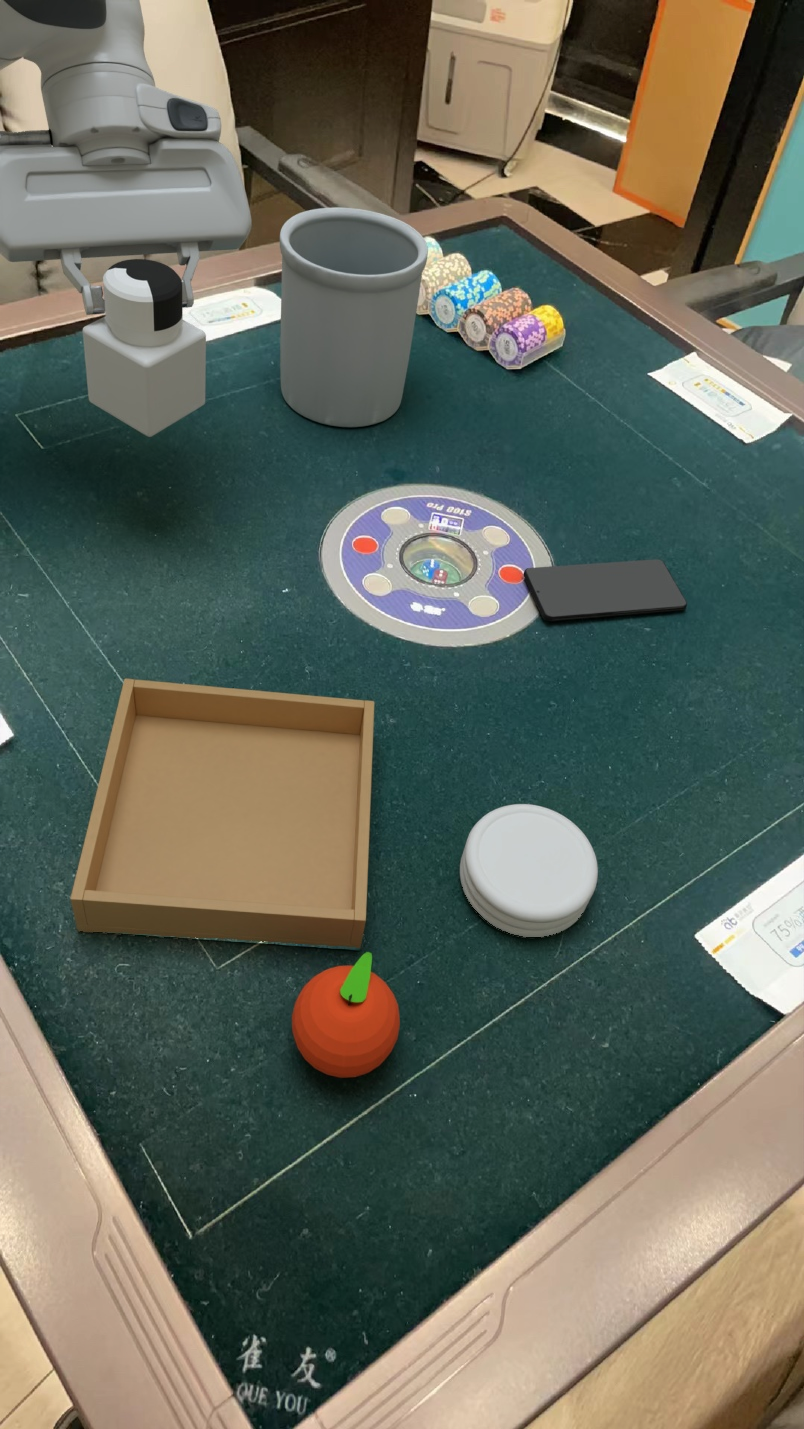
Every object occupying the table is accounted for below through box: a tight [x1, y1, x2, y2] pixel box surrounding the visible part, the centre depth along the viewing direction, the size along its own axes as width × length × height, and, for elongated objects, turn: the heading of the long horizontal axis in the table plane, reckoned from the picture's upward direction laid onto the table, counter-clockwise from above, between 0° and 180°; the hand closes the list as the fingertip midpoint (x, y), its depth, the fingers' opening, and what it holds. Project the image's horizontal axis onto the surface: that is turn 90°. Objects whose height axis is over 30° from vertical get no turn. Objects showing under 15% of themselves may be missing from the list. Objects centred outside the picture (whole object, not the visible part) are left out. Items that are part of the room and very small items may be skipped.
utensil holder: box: [279, 206, 429, 428], centre depth 111 cm, size 15×15×18 cm
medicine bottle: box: [82, 258, 207, 438], centre depth 86 cm, size 7×7×12 cm
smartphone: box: [522, 558, 688, 622], centre depth 101 cm, size 7×1×15 cm
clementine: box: [291, 951, 401, 1079], centre depth 67 cm, size 8×7×7 cm
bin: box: [69, 677, 375, 949], centre depth 78 cm, size 20×20×4 cm
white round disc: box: [459, 803, 599, 938], centre depth 78 cm, size 10×10×4 cm
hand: (141, 309), depth 85 cm, fingers closed on medicine bottle, 6 cm apart
